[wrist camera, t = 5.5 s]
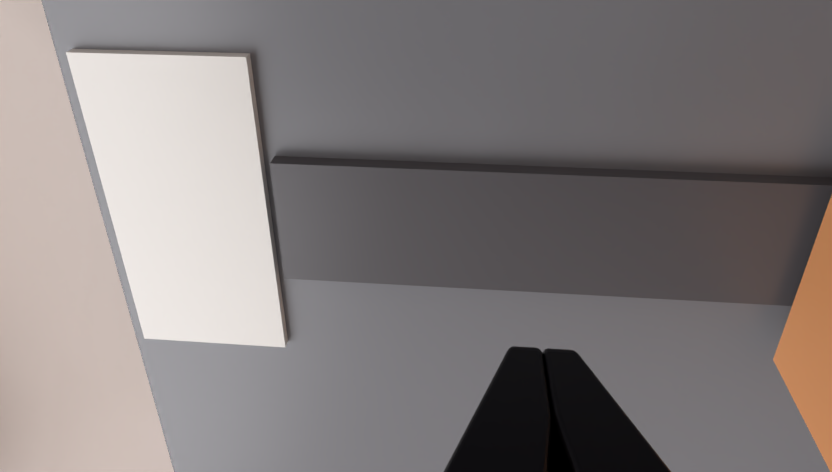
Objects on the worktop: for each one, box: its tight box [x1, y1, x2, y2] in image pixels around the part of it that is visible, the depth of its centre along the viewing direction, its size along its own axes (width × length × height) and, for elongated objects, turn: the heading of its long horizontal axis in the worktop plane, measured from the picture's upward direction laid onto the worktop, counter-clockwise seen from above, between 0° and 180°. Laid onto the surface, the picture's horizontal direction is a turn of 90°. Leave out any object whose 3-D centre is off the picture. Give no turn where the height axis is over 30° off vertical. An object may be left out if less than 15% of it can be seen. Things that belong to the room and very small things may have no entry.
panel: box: [41, 0, 832, 472], centre depth 13 cm, size 20×15×3 cm
